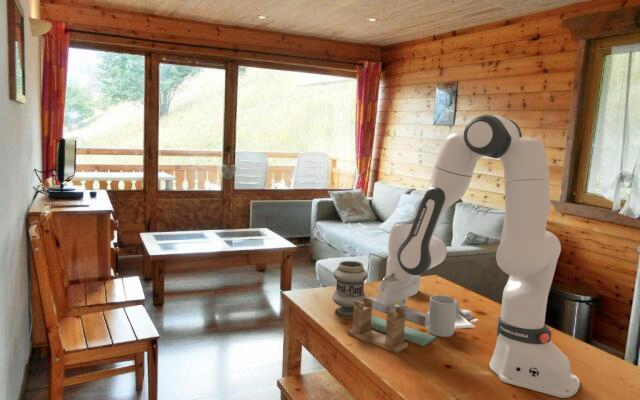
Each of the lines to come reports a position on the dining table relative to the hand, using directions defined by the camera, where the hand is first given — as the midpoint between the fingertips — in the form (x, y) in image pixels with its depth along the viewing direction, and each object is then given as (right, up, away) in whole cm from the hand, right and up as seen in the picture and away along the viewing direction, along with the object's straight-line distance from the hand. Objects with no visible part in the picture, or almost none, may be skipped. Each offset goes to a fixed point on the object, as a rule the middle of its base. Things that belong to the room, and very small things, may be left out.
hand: (397, 312), depth 157 cm
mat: (0, -6, +1) cm, 6 cm away
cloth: (+23, -6, +16) cm, 29 cm away
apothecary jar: (-15, -4, +14) cm, 21 cm away
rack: (-7, -7, -8) cm, 13 cm away
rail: (0, -1, 0) cm, 1 cm away
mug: (+16, -7, +3) cm, 18 cm away
